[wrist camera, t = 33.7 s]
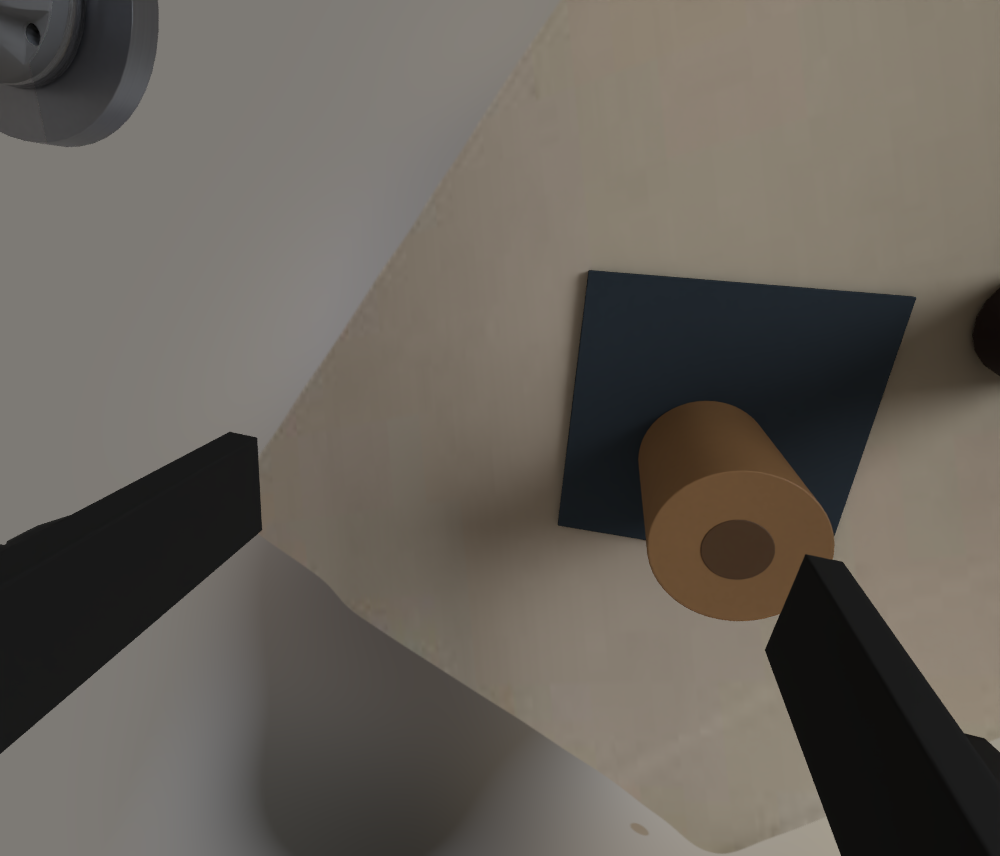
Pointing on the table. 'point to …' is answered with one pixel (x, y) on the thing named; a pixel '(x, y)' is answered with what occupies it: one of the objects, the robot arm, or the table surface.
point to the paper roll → (725, 513)
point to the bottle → (989, 333)
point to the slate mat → (723, 380)
